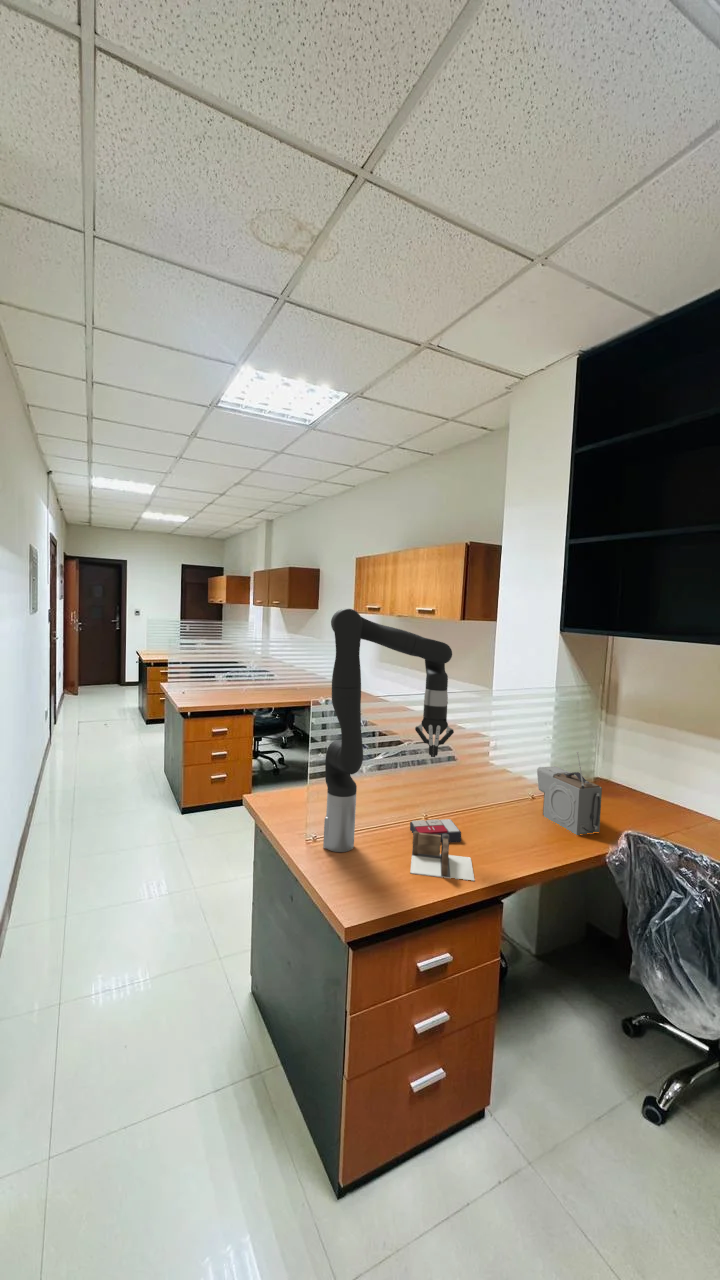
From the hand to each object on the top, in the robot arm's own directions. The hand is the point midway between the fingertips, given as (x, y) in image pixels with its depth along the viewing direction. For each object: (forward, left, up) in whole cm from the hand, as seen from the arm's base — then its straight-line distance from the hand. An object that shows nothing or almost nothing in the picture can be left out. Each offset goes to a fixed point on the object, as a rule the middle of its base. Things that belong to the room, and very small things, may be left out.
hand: (432, 756), depth 156 cm
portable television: (+51, +33, -29) cm, 67 cm away
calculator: (+2, +8, -30) cm, 31 cm away
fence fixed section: (+1, -8, -29) cm, 30 cm away
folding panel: (+5, -15, -28) cm, 32 cm away
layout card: (+4, -13, -29) cm, 32 cm away
